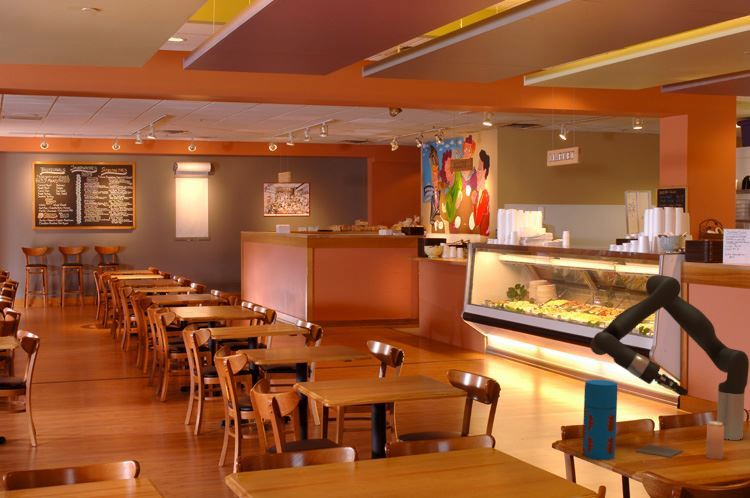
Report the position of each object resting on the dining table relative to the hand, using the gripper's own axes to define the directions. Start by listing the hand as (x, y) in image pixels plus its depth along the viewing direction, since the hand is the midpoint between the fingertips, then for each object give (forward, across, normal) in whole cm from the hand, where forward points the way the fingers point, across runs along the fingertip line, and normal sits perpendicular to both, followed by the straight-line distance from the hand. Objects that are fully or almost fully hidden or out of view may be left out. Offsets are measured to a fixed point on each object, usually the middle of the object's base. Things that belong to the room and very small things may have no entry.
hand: (684, 393), depth 330 cm
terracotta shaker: (+19, -1, +14) cm, 23 cm away
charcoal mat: (+3, +2, +22) cm, 22 cm away
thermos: (-15, -10, +34) cm, 39 cm away
